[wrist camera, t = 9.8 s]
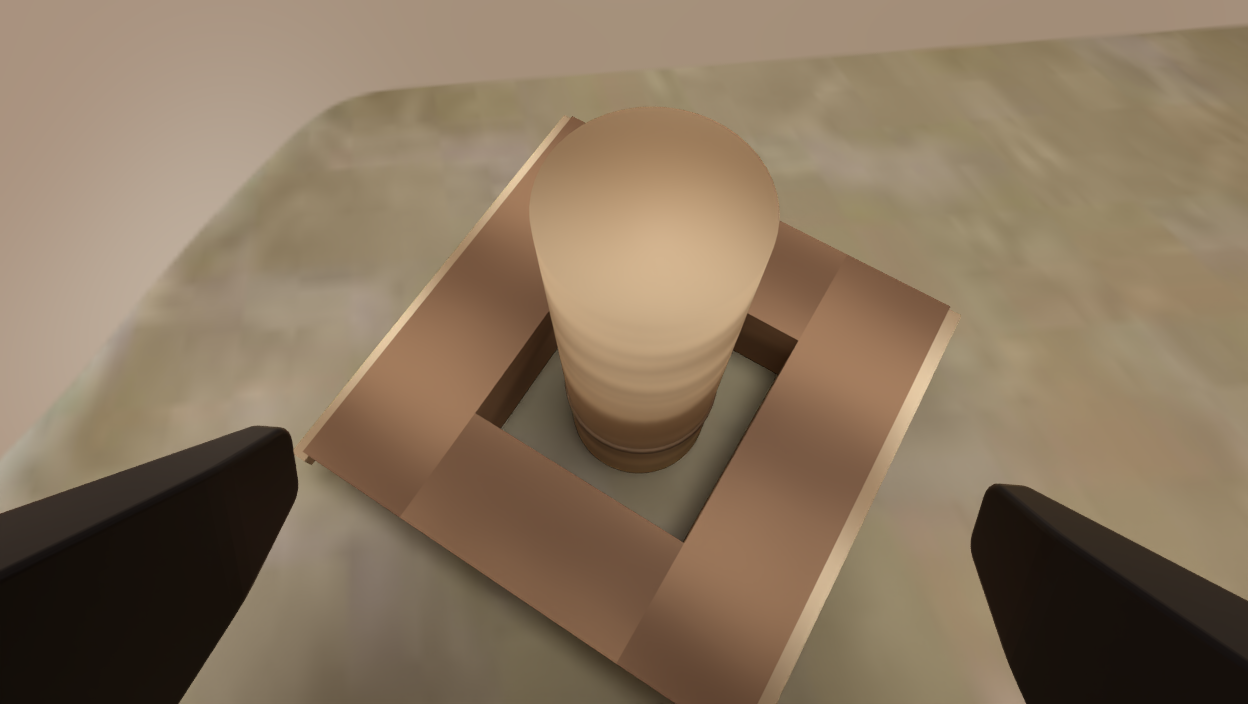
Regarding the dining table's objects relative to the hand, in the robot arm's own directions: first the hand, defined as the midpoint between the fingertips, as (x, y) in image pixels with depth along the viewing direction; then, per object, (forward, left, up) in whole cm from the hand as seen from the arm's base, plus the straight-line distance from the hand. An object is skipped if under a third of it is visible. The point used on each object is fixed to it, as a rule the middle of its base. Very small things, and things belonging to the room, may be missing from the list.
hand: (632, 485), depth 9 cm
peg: (+5, +2, -13) cm, 14 cm away
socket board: (+5, +2, -13) cm, 14 cm away
